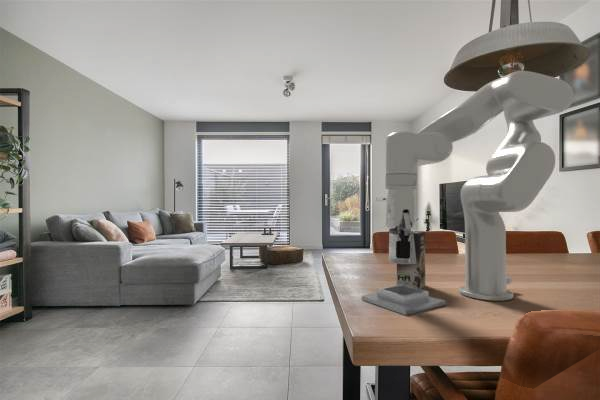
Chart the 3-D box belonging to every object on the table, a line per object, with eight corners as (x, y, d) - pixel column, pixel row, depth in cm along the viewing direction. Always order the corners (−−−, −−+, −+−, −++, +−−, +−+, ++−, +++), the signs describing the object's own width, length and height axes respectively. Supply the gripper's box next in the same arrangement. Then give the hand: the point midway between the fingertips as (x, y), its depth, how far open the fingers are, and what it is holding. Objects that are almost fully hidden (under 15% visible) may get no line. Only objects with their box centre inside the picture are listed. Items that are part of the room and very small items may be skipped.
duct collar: (400, 292, 92) (400, 281, 92) (445, 304, 80) (445, 292, 80) (361, 299, 85) (361, 287, 85) (405, 315, 73) (405, 301, 73)
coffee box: (419, 292, 92) (418, 233, 92) (395, 289, 95) (395, 232, 96) (426, 285, 100) (425, 231, 100) (404, 282, 103) (404, 230, 103)
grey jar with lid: (407, 260, 85) (407, 228, 85) (413, 263, 80) (413, 230, 80) (386, 259, 85) (387, 228, 85) (391, 263, 80) (391, 229, 80)
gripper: (379, 184, 92) (378, 251, 91) (393, 179, 75) (392, 261, 74) (407, 185, 91) (406, 252, 91) (427, 180, 74) (426, 262, 74)
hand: (399, 255), depth 83 cm, fingers closed on grey jar with lid, 5 cm apart
